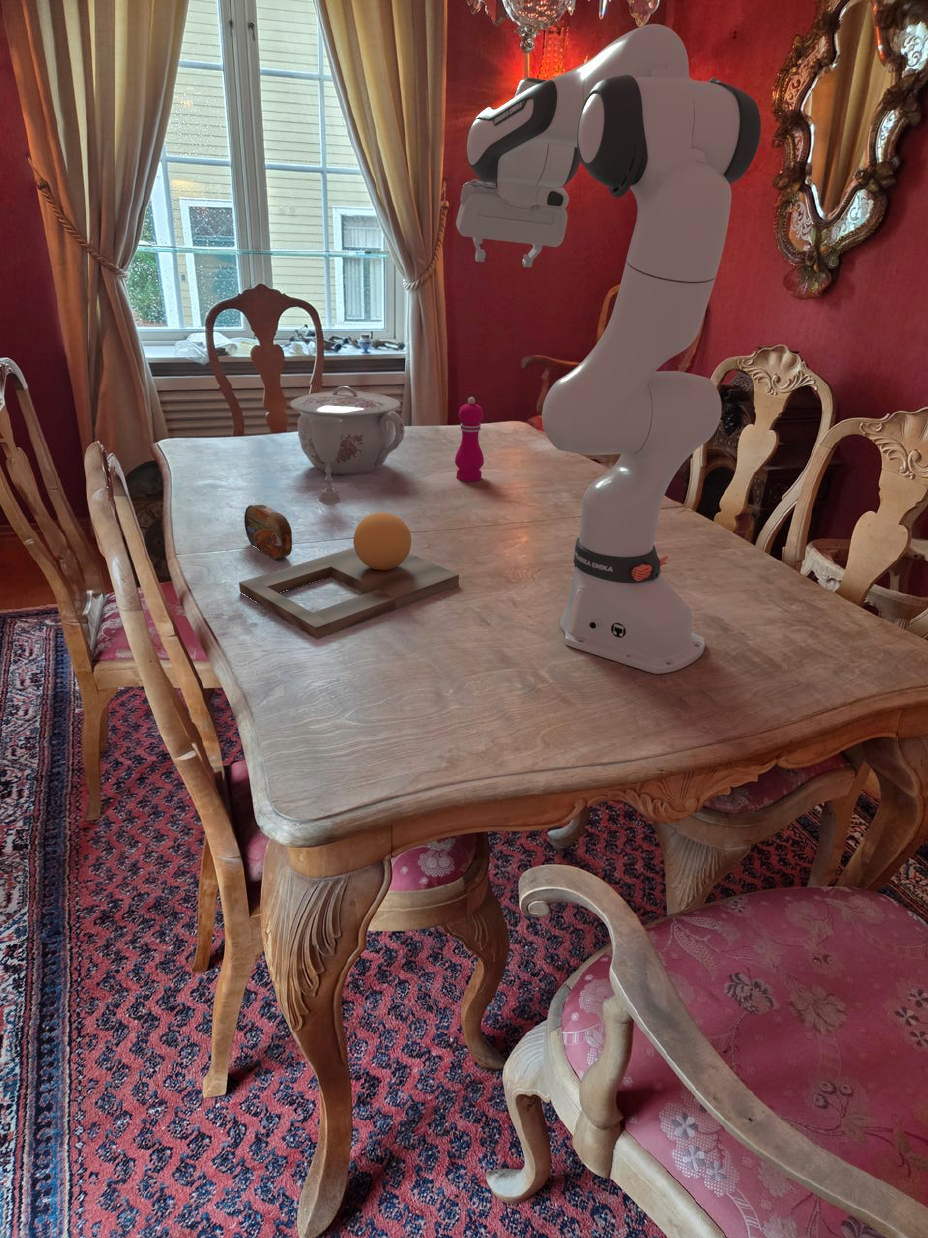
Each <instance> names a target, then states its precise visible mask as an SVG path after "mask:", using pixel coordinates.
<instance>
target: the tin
mask: <svg viewBox="0 0 928 1238" xmlns="http://www.w3.org/2000/svg"><path fill="white" fill-rule="evenodd" d="M243 517H244V520H243V521H244V522H243V523H244V529H245V533H246V536H247V539H248V541H249V543H250V545H251V546H252V545H253V546H255V547H257V548H258V549H259V550H260V551H259V550H258V551H259V552H261V551H262V552H264V553H265V554H266V556H267V555H268V556H269V557H268V556H267V557H268V558H270V559H272V560H278V559H283V558H286V557H288V556H290V555H291V554H292V551H293V536H292V534H293V533H292V532H293V531H292V527H291V525H290V523H289V521H288V519H287V517H285V515H283V514H281V513H280V512H277V511H276V510H275V509H273V508H271V507H268V506H266V505H265V504H255V505H251V504H250V505H248V506H247V507H246V508H245V511H244V516H243ZM253 546H252V547H253ZM262 552H261V553H262ZM264 553H263V554H264ZM265 554H264V555H265Z"/></svg>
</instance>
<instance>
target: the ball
mask: <svg viewBox="0 0 928 1238" xmlns="http://www.w3.org/2000/svg"><path fill="white" fill-rule="evenodd" d="M353 548H355V551H356V554H357V555H358V557H359V559H360V560H361V561H362V562H363V563H364V564H366V565H367V566H369V567H371V568H373V569H377V570H388V569H392V568H395V567H397V566H398V565H400V564H401V563H402V562H403V561H404V560H405V559H406V557H407V556H408V554H409V553H410V551H411V548H412V535H411V533H410V530H409V527H408V526H407V524H406V523H405V522H404V520H402V519H401V518H400V517H398V516H397V515H395V514H393V513H391V512H384V511H381V512H374V513H372V514H369V515H367V516H365V517H364V518H363V519H362V520H361V521H360V522H359V523H358V525H357V526H356V528H355V531H354V534H353Z"/></svg>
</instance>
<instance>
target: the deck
mask: <svg viewBox="0 0 928 1238" xmlns="http://www.w3.org/2000/svg"><path fill="white" fill-rule="evenodd" d="M328 578H329V579H330V578H333V579H335V580H337V581H339V582H341V583H343V582H344V583H343V584H345V585H347V586H349V587H351V588H353V589H355V590H357V591H358V592H360V593H363V594H362V595H361V594H360V595H359V596H356V597H352V598H350V599H347V600H345V601H342V602H338V603H336V604H333V605H330V606H328V607H325V608H322V609H319V610H316V611H314V612H312V611H310V610H308V609H307V608H305V607H303V606H301V605H300V604H299V603H296V602H294V601H293V600H291V599H289V598H288V597H285V596H284V595H282V593H280V592H283V591H286V590H289V591H293V590H295V588H296V589H298V588H297V587H299V588H302V587H304V586H303V585H305V586H307V585H306V584H308V585H310V584H309V583H311V584H313V583H312V582H314V583H316V582H315V581H317V582H320V581H323V580H326V579H328ZM322 579H323V580H322ZM319 580H320V581H319ZM238 584H239V585H238V586H239V593H240V592H241V593H243V594H245V595H246V596H248V597H249V598H251V599H252V600H254V601H256V602H257V603H258V604H257V603H256V602H255V603H256V604H257V605H259V604H260V605H259V606H261V607H262V606H263V608H264V609H266V610H267V611H269V612H271V613H272V614H274V615H276V616H277V617H279V618H280V619H282V620H284V621H285V620H286V622H288V623H289V624H291V625H292V626H294V627H296V628H297V629H299V630H301V631H302V632H304V633H305V634H307V635H309V636H310V637H312V638H314V639H315V640H320V639H321V638H325V637H326V636H329V635H330V636H331V635H332V634H334V633H338V632H339V631H342V630H343V631H344V629H348V628H351V627H353V626H356V625H359V624H361V623H363V622H366V621H368V620H371V619H373V618H374V619H375V618H376V617H379V616H381V615H384V614H387V613H390V612H392V611H395V610H398V609H400V608H403V607H405V606H407V605H410V604H413V603H415V602H417V601H421V600H424V599H426V598H428V597H429V598H430V597H431V596H434V595H437V594H440V593H441V592H444V591H447V590H449V589H452V588H455V587H457V586H459V584H460V574H459V573H456V572H454V571H451V570H450V569H447V568H444V567H442V566H440V565H439V564H435V563H432V562H431V561H428V560H425V559H423V558H422V557H418V556H417V555H415V554H412V553H410V552H409V554H408V556H407V557H406V559H405V560H404V561H403V562H402V563H401V564H400V565H398V566H397V567H395V568H392V569H388V570H377V569H373V568H371V567H369V566H367V565H366V564H364V563H363V562H362V561H361V560H360V559H359V557H358V555H357V554H356V551H355V548H354V547H352V548H348V549H345V550H342V551H338V552H335V553H332V554H328V555H324V556H322V557H319V558H315V559H311V560H308V561H305V562H301V563H297V564H294V565H292V566H289V567H285V568H281V569H278V570H275V571H272V572H269V573H266V574H262V575H260V576H259V575H258V576H255V577H252V578H248V579H246V580H243V581H239V582H238ZM301 586H302V587H301ZM286 592H287V591H286ZM241 593H240V594H241ZM279 593H280V594H279ZM283 593H284V592H283ZM246 596H245V597H246ZM249 598H248V599H249ZM251 599H250V600H251ZM252 600H251V601H252ZM254 601H253V602H254Z"/></svg>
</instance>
